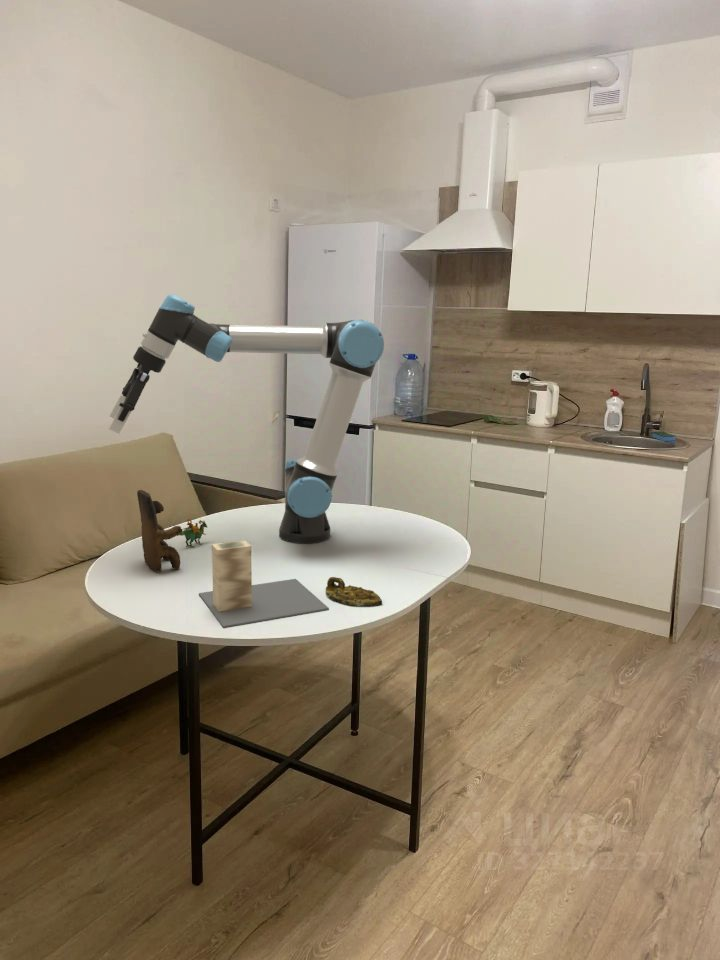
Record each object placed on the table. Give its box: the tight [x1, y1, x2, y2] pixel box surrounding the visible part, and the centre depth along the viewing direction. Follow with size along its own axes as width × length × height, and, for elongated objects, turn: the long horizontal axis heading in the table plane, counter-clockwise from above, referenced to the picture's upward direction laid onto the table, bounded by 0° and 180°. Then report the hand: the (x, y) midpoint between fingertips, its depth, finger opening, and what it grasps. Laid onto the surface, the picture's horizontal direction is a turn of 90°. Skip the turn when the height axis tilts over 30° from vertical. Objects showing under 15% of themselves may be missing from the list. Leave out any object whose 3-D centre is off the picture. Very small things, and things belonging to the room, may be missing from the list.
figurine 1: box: [136, 489, 184, 573], centre depth 184 cm, size 13×8×20 cm, turn 37°
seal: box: [325, 576, 383, 608], centre depth 168 cm, size 9×5×15 cm
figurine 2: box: [176, 518, 208, 548], centre depth 202 cm, size 3×12×8 cm, turn 143°
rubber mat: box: [198, 578, 330, 629], centre depth 165 cm, size 24×20×1 cm
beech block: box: [211, 539, 253, 612], centre depth 160 cm, size 8×4×14 cm, turn 117°
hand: (114, 424), depth 187 cm, fingers open, 13 cm apart
